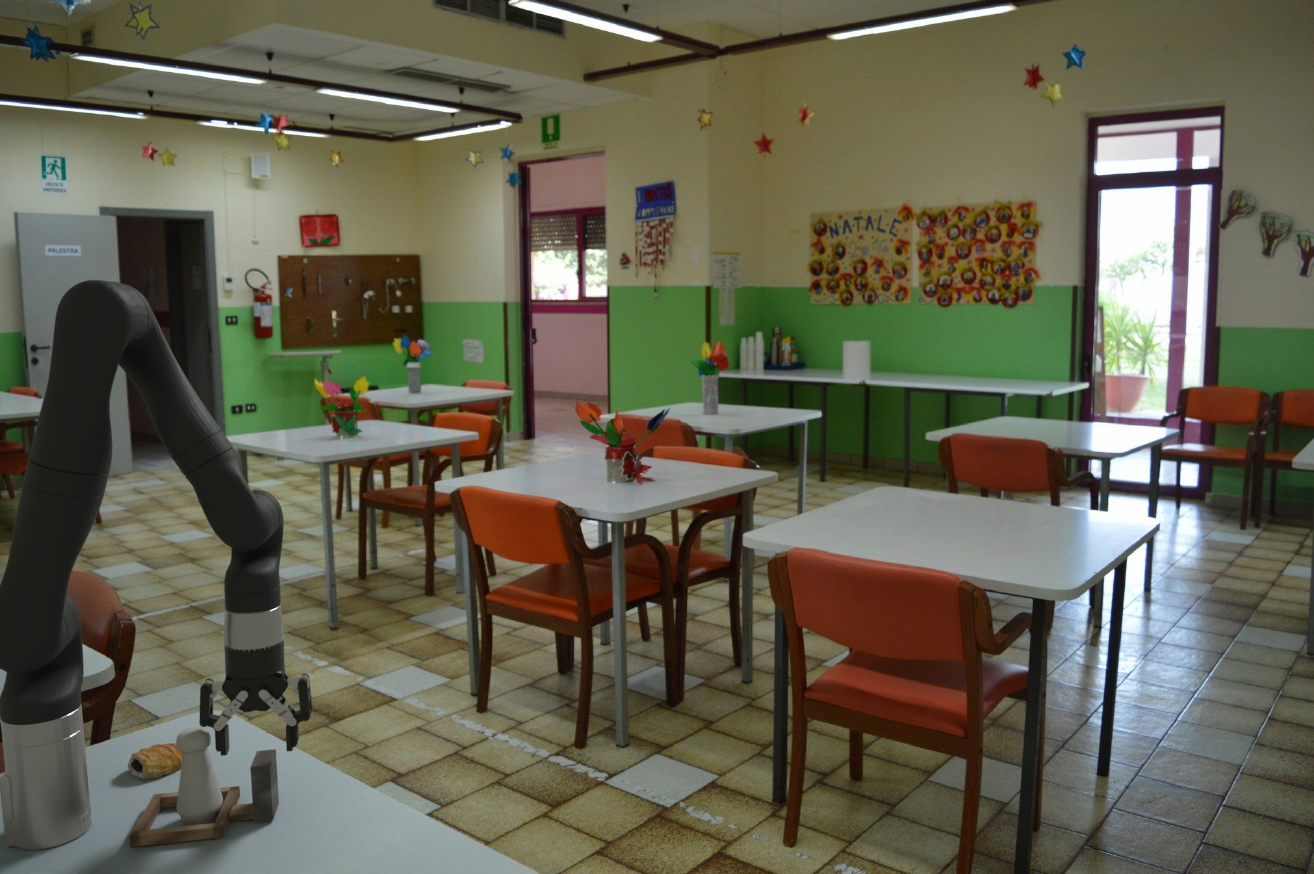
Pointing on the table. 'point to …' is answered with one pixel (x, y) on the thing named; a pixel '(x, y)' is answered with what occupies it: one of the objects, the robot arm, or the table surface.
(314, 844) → the table surface
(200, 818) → the salt shaker
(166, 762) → the pastry
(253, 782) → the frame
